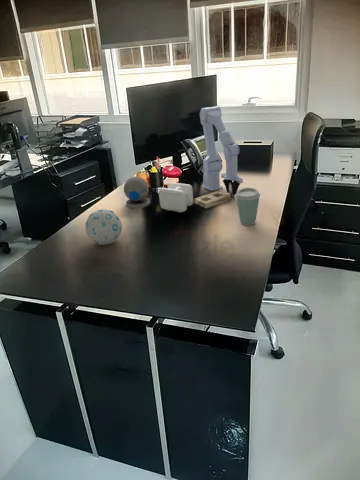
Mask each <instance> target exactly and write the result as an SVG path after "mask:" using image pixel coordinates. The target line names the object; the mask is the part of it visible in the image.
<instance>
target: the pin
mask: <svg viewBox="0 0 360 480" xmlns="http://www.w3.org/2000/svg"><path fill="white" fill-rule="evenodd" d="M228 195H230V198H233V199H236V197H235V195H233V193H232V186H231V182H230V183H229V193H228Z"/></svg>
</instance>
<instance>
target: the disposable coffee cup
mask: <svg viewBox="0 0 360 480" xmlns="http://www.w3.org/2000/svg"><path fill="white" fill-rule="evenodd" d="M260 197H261V193H260V192H259V190H258V189H257V188H255V187H243V188H239V189H238V190H237V193H236V194H235V201H236V206H237V210H238V217H239V221H240V224H242V225H243V226H252V225H254V224H255V223H256V221H257V217H258V216H257V215H258V209H259V203H260Z"/></svg>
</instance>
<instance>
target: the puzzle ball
mask: <svg viewBox="0 0 360 480" xmlns="http://www.w3.org/2000/svg"><path fill="white" fill-rule="evenodd" d="M122 228H123V223H122V221H121V219H120V217H119V215H117V214H116V213H115V212H114V211H113V210H110V209H107V208H102V209H97V210H95V211H93V212H91V213H90V214H89V216H88V217H87V219H86V221H85V233H86V234H87V237H88V238H89V240H91V241H92V242H93V243H94V244H95V243H96V244H97V245H100V246H106V245H110V244H112V243H114V242H115V241H116V240H118V238H120V236H121V233H122Z"/></svg>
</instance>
